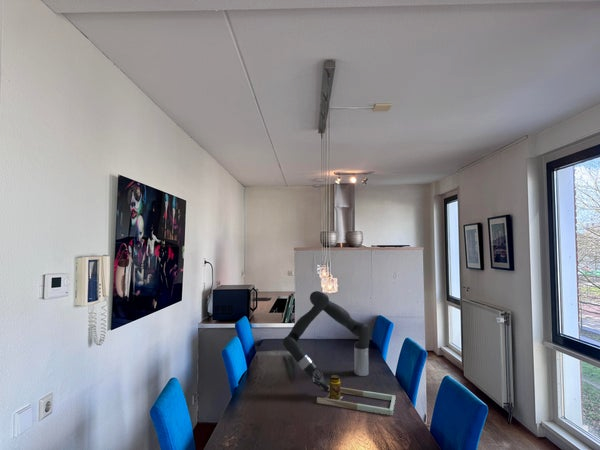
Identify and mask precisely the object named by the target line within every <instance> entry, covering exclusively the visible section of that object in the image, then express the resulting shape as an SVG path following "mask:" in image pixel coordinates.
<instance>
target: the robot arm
mask: <svg viewBox="0 0 600 450" xmlns="http://www.w3.org/2000/svg"><path fill="white" fill-rule="evenodd" d="M329 299H330V298H329V296H328V295H327V294H326V293H324V292H321V291H318V290H316V291H312V292H311V293H310V295H309V301H310V303H311V304H312V307H311V309H309V311H308V312H306V313H304V314H303V315H302V316H300V317H299V318H298V320H297V321H296V323H294V325H293V326H292V327H291V330H290V332H289V333H288V334H287V336H285V337H284V338H283V340H282V346H283V347H284V348H285V350H287V352H289V354H290V355H291V356H292V357H293V358H294V361H296V362H297V364H298V365H299V367H300V368H301V370H303V372H304V373H305V374H306V376H307V377H309V376H310V378H311V379H312V381H311V382H312V383H313V384H314V385H316V386H318V387H322V389H323V390H324V391H325V392H328V391H327V390H328V389H329V387H328V386H327V385H328V384H327V383H326V379H325V376H324V374H323V371H319V370H318V369H317V368H318V365H317V364H316V363H315V362H314V361H313V360H312V358H311V357H310V356H309V355H308V354H307V353H306V352H305V351H304V349H302V347H300V345H299V344H298V341H299V340H300V338H301V337H302V335H303V334H304V332H305V331H306V329H307V328H308V327H309V326H310V324H311V323H312V322H313V321H314V320H315V318H317V316H319V315H320V313H322V312H324V313H326V314H327V315H328V316H329V317H330V318H332V319H333V320H334V321H335V322H337V323H338V324H340V325H341V326H343V327H345V328H346V329H347V330H349V332H350V333H352V334H353V335H354V336H356V337H358V341H355V342H354V344H353V345H354V346H353V347H354V349H353V350H354V353H353V354H354V356H353V357H354V360H353V361H354V374H355V375H356V376H358V377H359V376H360V377H365V376H369V346H370V333H371V332H370V331H371V329H370V326H369V325H368V324H366V323H363V322H359V321H357V320H356V319H354V318H352V317H351V314H350V313H349V312H348V311H347V310H346V309H345V308H343V307H342V306H340V305H338V304H336V303H335V302H332V301H331V300H329Z"/></svg>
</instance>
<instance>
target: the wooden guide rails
mask: <svg viewBox="0 0 600 450" xmlns="http://www.w3.org/2000/svg"><path fill="white" fill-rule="evenodd" d="M326 385H327V386H328V387H329V389H328V390H327V391H326V392H330V384H329V385H328V384H326ZM340 388H341V394H347V395H352V396H353V395H354V396H357V397H358V396H359V397H364V396H363V391H364V390H361V389H355V388H347V387H342V386H341V387H340ZM316 403H317V404H322V405H327V406H335V407H339V408H346V409H351V410H357V404H359V403H357V402H351V401H345V400H334V399H327V398H325V397H321V396H320V397H319V396H317V397H316Z"/></svg>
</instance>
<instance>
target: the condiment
mask: <svg viewBox="0 0 600 450" xmlns="http://www.w3.org/2000/svg"><path fill="white" fill-rule="evenodd" d="M329 377H330V378H329V379H330V381H329V386H330V391H329V394H327V396H325V397H324V398H327V399H334V400H340V401H342V399H343V397H344V396H341V394H342V393H341V388H340V387H342V386H341V385H342V384H341V376H339V375H337V374H333V375H330V376H329Z"/></svg>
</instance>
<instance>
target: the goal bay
mask: <svg viewBox="0 0 600 450" xmlns="http://www.w3.org/2000/svg"><path fill="white" fill-rule="evenodd" d="M362 391H363V396H362V397H367V398H372V399H378V400H384V401H390V400H391V402H390V406H389V408H386V407H381V406H375V405H369V404H362V403H358V404H357V410H358V411H362V412H369V413H373V412H374V414H379V413H380V414H379V415H385V414H387V416H391V415H392V416H393V414H394V411H393V410H395V409H394V408H395V406H394V405H395V404H396V401H395V400H396V397H397V396H396V395H395V394H394V395H393V394H387V393H382V392H381V393H380V392H374V391H370V390H369V391H368V390H367V391H366V390H362Z"/></svg>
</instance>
